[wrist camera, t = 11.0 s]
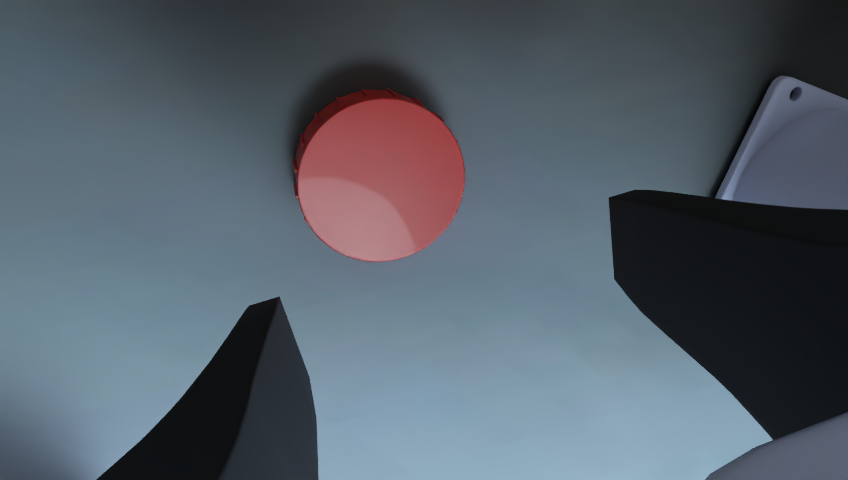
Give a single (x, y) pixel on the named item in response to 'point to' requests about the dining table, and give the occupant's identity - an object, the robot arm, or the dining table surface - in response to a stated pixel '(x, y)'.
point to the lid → (378, 175)
